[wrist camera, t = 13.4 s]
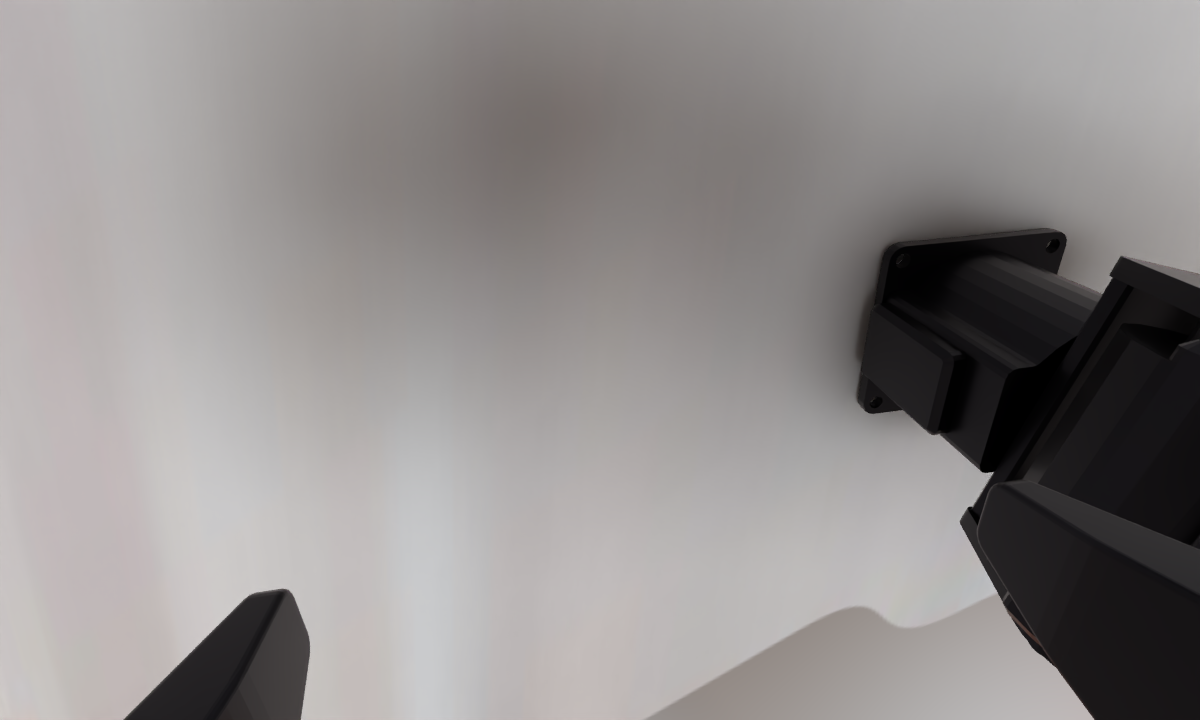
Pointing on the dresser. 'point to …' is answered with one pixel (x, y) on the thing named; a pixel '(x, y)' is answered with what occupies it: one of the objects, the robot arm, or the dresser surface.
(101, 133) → the dresser surface
